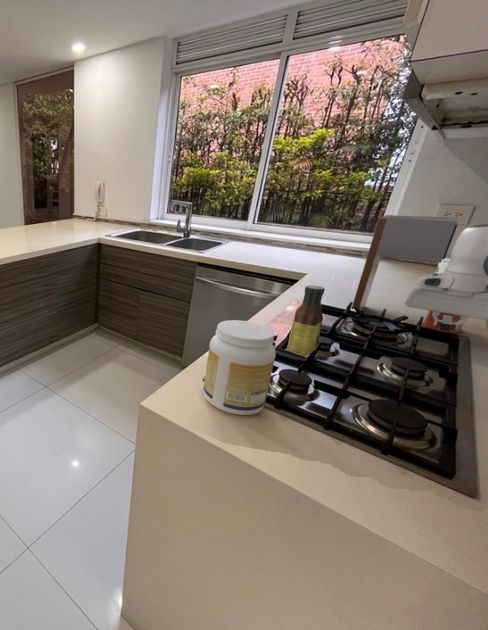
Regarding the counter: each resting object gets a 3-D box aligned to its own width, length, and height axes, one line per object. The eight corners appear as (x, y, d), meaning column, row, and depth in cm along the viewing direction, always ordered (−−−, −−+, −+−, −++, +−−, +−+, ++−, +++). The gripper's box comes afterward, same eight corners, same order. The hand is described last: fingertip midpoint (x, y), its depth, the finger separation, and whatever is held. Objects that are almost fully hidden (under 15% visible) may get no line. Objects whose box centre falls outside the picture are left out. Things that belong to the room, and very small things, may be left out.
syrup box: (437, 289, 151) (449, 257, 145) (453, 293, 145) (467, 260, 140) (427, 290, 149) (439, 258, 144) (443, 294, 144) (457, 260, 139)
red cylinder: (460, 327, 110) (468, 308, 108) (460, 347, 97) (469, 325, 94) (424, 321, 116) (431, 302, 113) (419, 338, 103) (427, 318, 100)
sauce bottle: (317, 364, 88) (337, 291, 81) (291, 362, 89) (309, 290, 82) (305, 353, 94) (323, 284, 87) (281, 351, 95) (297, 283, 88)
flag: (420, 317, 119) (459, 217, 108) (416, 330, 108) (459, 221, 96) (358, 305, 132) (386, 215, 120) (348, 317, 120) (378, 218, 108)
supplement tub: (274, 403, 72) (292, 331, 66) (244, 425, 66) (261, 347, 60) (221, 379, 82) (233, 314, 76) (190, 396, 75) (200, 326, 69)
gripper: (521, 287, 90) (498, 334, 95) (414, 274, 104) (399, 316, 109) (524, 292, 86) (500, 341, 91) (412, 278, 100) (397, 321, 105)
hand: (444, 327), depth 100 cm, fingers closed on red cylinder
